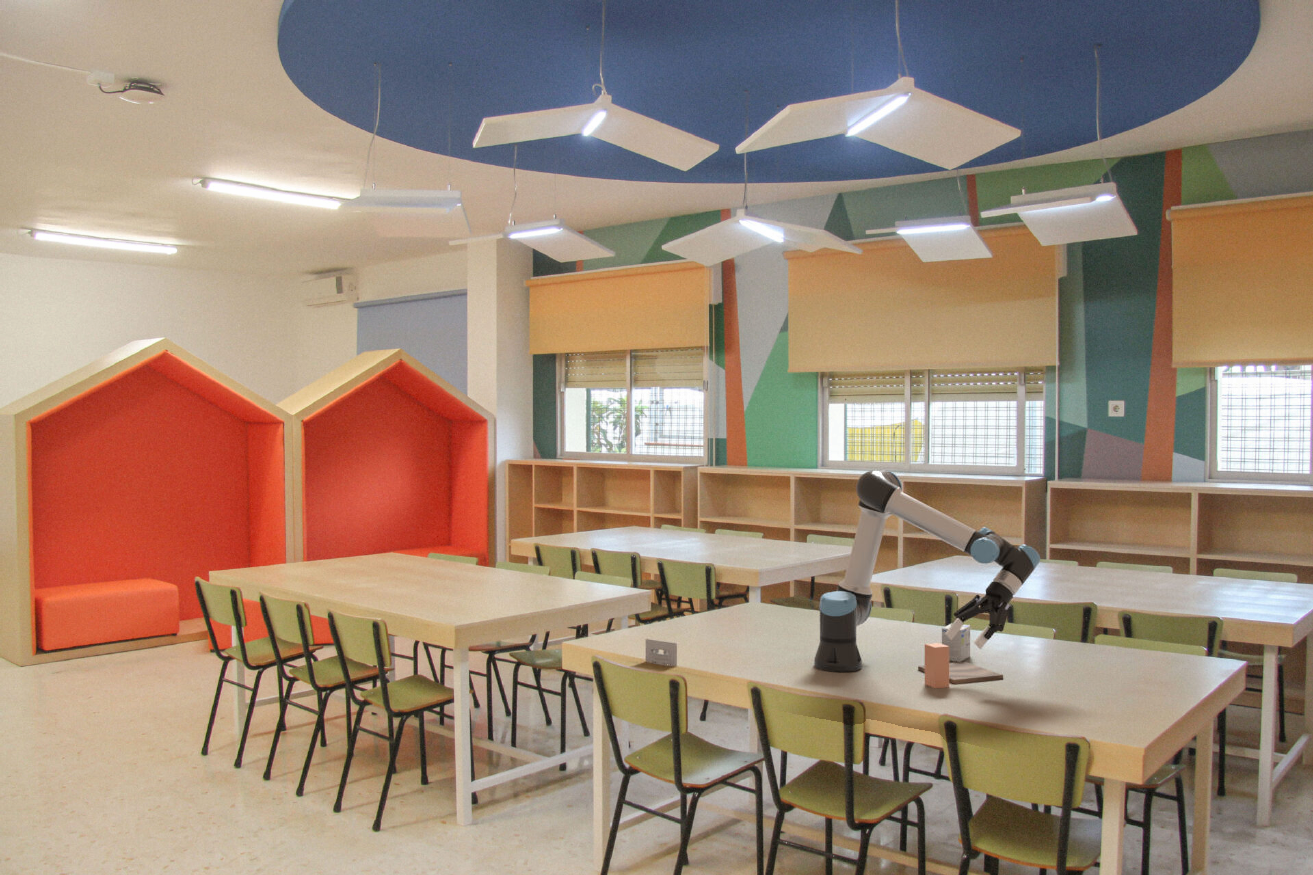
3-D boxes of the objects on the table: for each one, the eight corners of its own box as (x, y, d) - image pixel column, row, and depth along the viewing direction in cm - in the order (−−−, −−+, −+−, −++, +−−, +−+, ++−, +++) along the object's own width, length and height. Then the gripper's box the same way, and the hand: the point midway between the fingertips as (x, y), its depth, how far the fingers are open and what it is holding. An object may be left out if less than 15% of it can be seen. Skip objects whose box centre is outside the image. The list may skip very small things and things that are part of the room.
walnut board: (918, 669, 291) (918, 666, 291) (965, 665, 297) (965, 661, 297) (953, 683, 274) (953, 679, 274) (1003, 678, 280) (1003, 674, 280)
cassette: (644, 662, 302) (644, 639, 302) (647, 661, 303) (647, 638, 303) (674, 667, 295) (674, 643, 295) (677, 666, 296) (677, 642, 296)
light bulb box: (951, 653, 314) (951, 622, 314) (971, 656, 310) (970, 624, 310) (941, 659, 305) (941, 627, 305) (961, 662, 301) (961, 629, 302)
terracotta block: (924, 684, 274) (924, 643, 274) (938, 682, 275) (938, 642, 275) (934, 688, 269) (934, 647, 269) (949, 686, 271) (949, 646, 271)
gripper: (1039, 603, 269) (998, 658, 264) (983, 590, 292) (944, 641, 287) (1024, 586, 267) (982, 641, 262) (969, 574, 291) (929, 625, 286)
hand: (962, 641), depth 275 cm, fingers open, 13 cm apart
